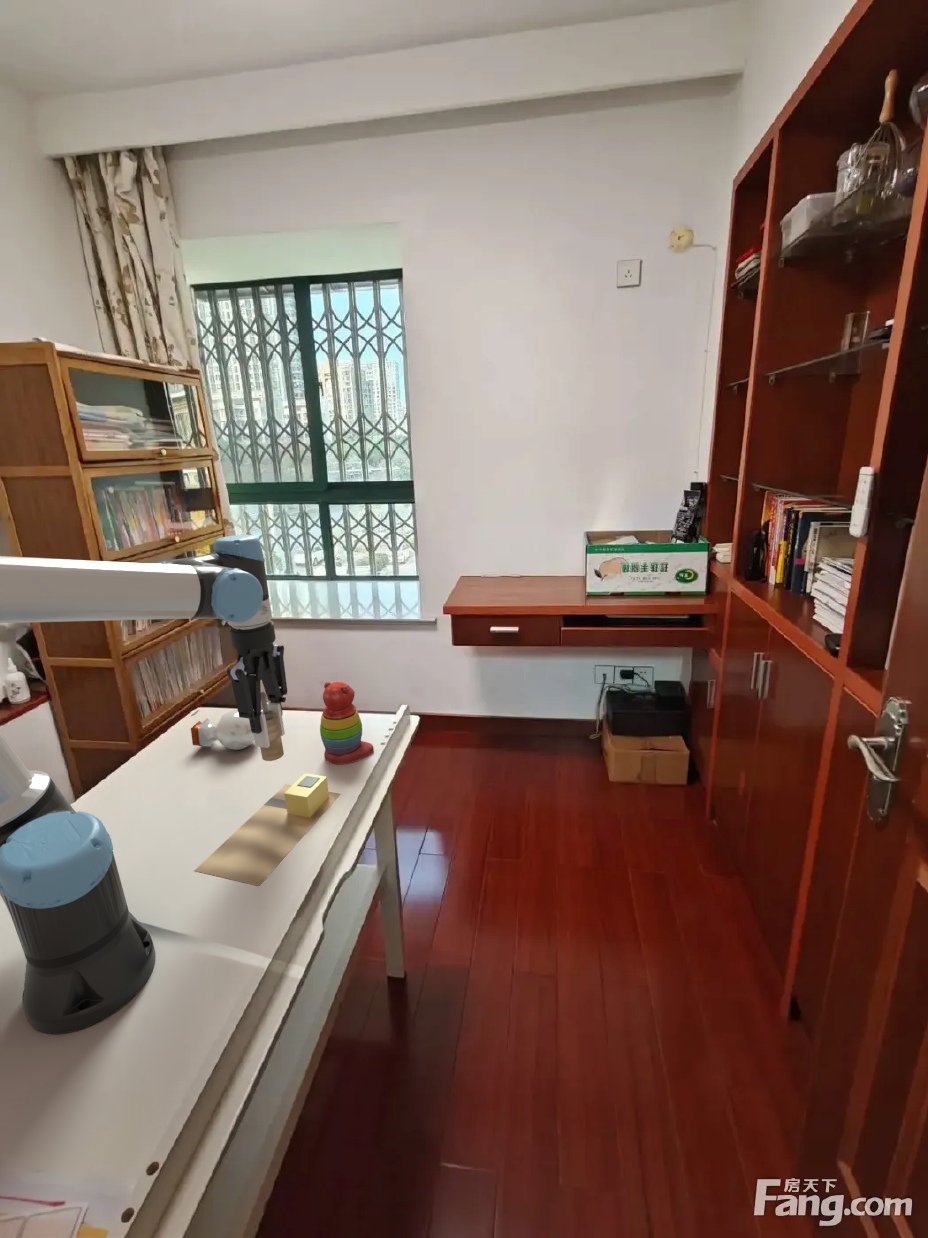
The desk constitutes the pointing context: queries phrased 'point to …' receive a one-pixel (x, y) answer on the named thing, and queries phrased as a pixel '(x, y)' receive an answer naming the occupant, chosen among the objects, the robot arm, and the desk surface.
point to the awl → (271, 734)
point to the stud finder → (306, 795)
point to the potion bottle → (224, 732)
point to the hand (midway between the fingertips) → (270, 739)
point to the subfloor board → (261, 841)
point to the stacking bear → (342, 726)
